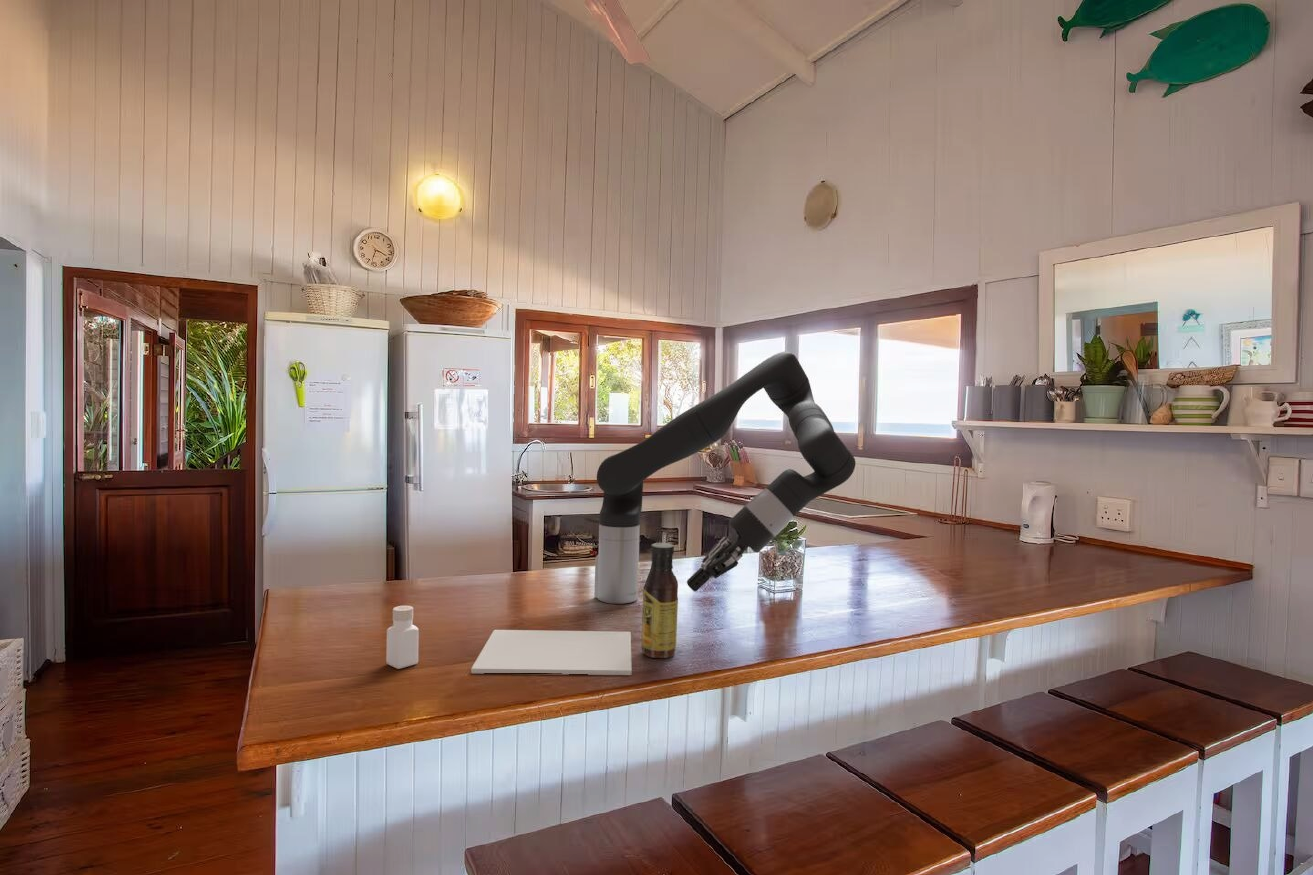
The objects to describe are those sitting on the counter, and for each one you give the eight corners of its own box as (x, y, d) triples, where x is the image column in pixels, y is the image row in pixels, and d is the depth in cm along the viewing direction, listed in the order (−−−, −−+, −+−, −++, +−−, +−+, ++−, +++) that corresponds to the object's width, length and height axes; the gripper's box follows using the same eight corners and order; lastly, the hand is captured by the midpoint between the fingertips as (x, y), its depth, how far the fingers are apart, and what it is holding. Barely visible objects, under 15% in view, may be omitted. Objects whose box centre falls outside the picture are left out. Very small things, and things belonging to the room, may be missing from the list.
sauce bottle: (640, 648, 129) (643, 540, 128) (674, 648, 129) (677, 540, 128) (642, 660, 122) (645, 547, 121) (678, 660, 123) (681, 547, 122)
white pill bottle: (406, 658, 120) (407, 603, 120) (419, 664, 118) (420, 608, 117) (384, 664, 117) (385, 608, 117) (397, 670, 115) (398, 612, 114)
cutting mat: (471, 673, 114) (471, 668, 114) (494, 633, 134) (494, 629, 134) (631, 675, 116) (631, 670, 116) (630, 635, 136) (630, 631, 135)
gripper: (783, 542, 119) (709, 612, 119) (767, 528, 132) (700, 592, 132) (753, 510, 118) (678, 581, 118) (740, 499, 132) (673, 563, 131)
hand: (690, 586), depth 125 cm, fingers closed
